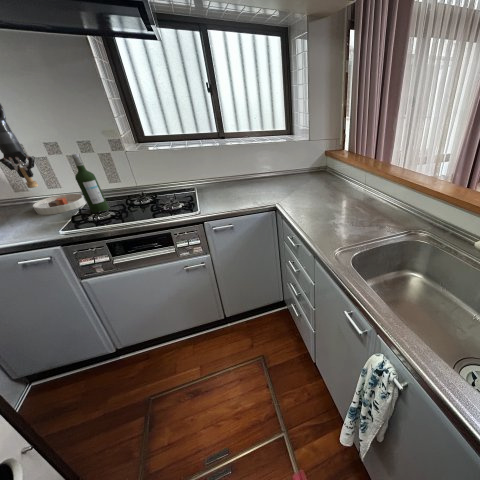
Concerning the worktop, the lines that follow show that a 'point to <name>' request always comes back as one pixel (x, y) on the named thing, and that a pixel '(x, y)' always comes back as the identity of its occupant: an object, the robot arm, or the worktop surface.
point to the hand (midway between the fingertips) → (27, 177)
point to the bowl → (73, 203)
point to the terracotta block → (62, 201)
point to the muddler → (28, 179)
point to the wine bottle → (89, 187)
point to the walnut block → (54, 203)
